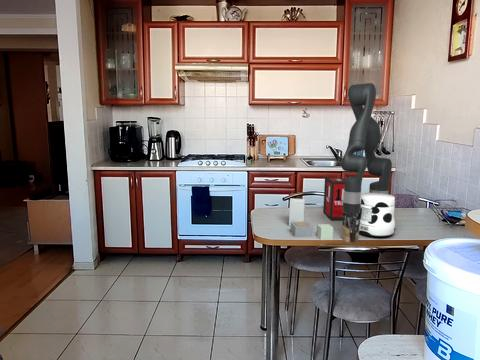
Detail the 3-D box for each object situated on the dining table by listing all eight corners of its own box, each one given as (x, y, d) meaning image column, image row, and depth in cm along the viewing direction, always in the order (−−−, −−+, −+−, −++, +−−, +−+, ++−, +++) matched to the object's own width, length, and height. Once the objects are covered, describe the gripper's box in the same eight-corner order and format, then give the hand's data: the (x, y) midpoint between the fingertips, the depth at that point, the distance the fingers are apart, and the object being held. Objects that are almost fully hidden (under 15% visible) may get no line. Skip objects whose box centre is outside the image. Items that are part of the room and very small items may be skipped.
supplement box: (303, 227, 192) (304, 202, 190) (288, 226, 193) (289, 201, 191) (304, 223, 199) (305, 198, 197) (289, 222, 200) (290, 198, 198)
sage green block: (328, 235, 180) (328, 224, 179) (332, 239, 174) (333, 227, 173) (316, 236, 179) (317, 224, 178) (320, 240, 173) (321, 228, 172)
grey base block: (307, 231, 186) (307, 220, 185) (312, 237, 178) (312, 225, 177) (290, 232, 185) (290, 221, 184) (295, 237, 177) (295, 226, 176)
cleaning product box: (348, 220, 204) (350, 182, 201) (331, 220, 204) (333, 182, 200) (338, 212, 220) (340, 177, 217) (323, 212, 220) (324, 177, 217)
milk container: (391, 230, 189) (394, 193, 186) (397, 241, 172) (400, 201, 169) (354, 227, 193) (356, 191, 190) (355, 238, 176) (358, 198, 173)
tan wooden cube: (352, 237, 177) (353, 225, 176) (358, 241, 172) (358, 229, 171) (341, 238, 176) (341, 226, 175) (346, 242, 171) (346, 229, 170)
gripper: (367, 204, 164) (364, 243, 167) (353, 197, 178) (351, 233, 181) (350, 205, 163) (347, 244, 166) (337, 197, 177) (335, 234, 180)
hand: (349, 238), depth 174 cm, fingers closed on tan wooden cube, 5 cm apart
